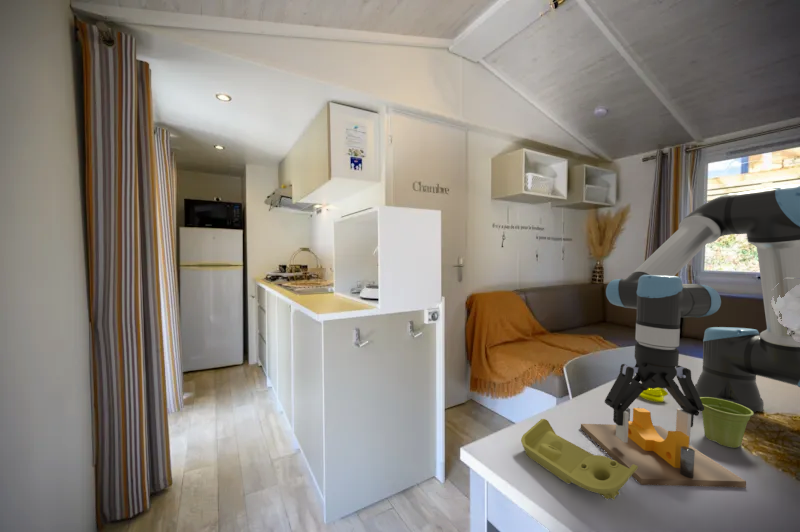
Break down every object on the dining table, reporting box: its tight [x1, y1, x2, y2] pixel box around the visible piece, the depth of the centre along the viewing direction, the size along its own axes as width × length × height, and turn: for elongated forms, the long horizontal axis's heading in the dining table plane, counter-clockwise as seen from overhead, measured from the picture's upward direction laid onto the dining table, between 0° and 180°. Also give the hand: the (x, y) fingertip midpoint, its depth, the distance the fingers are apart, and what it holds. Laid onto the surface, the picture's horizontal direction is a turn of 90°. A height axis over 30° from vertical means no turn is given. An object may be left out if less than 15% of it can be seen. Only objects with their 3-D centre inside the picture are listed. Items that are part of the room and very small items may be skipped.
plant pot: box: [700, 397, 755, 449], centre depth 76 cm, size 9×9×9 cm
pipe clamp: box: [628, 407, 690, 468], centre depth 69 cm, size 12×4×6 cm, turn 179°
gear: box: [638, 387, 669, 403], centre depth 100 cm, size 8×4×8 cm
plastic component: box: [520, 418, 638, 500], centre depth 62 cm, size 20×8×10 cm
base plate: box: [580, 423, 747, 488], centre depth 70 cm, size 20×20×1 cm
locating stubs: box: [625, 407, 695, 478], centre depth 70 cm, size 2×19×5 cm, turn 0°
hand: (652, 439), depth 70 cm, fingers open, 13 cm apart
